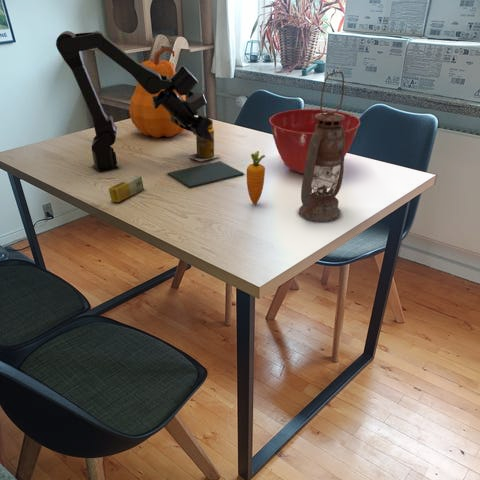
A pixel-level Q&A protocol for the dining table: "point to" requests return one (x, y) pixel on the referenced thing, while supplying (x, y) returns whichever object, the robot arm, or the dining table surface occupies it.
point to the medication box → (126, 189)
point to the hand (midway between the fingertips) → (206, 136)
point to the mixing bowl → (303, 134)
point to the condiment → (205, 147)
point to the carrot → (255, 178)
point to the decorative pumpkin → (143, 108)
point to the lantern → (324, 166)
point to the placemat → (205, 174)
